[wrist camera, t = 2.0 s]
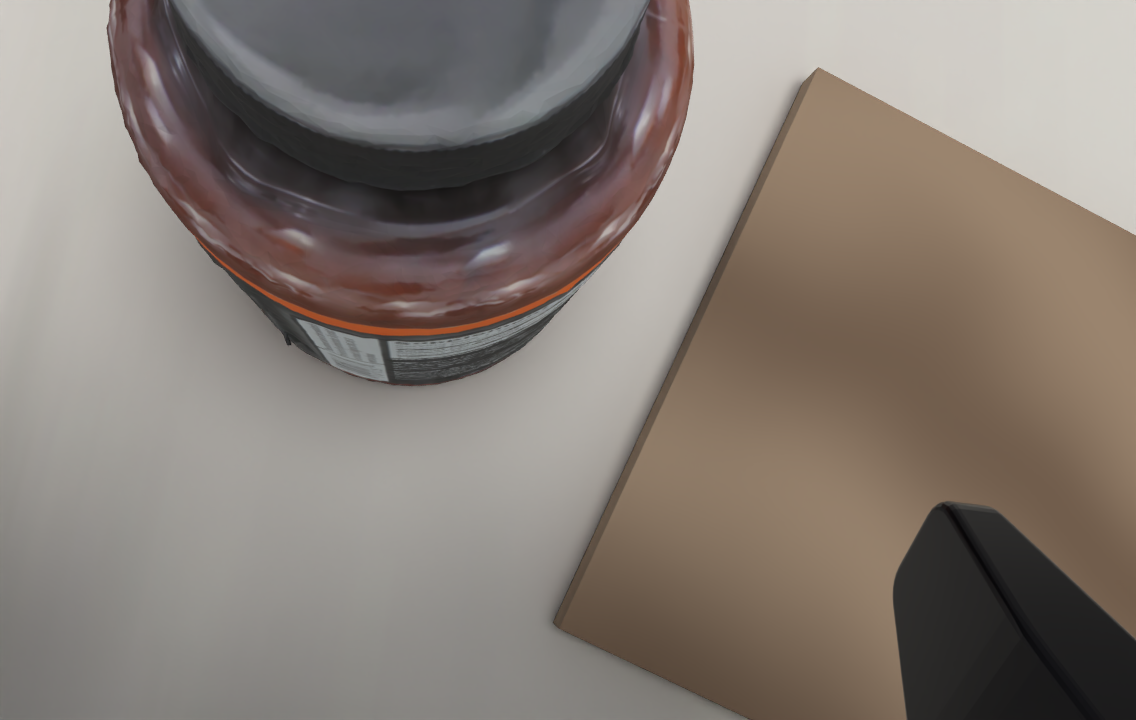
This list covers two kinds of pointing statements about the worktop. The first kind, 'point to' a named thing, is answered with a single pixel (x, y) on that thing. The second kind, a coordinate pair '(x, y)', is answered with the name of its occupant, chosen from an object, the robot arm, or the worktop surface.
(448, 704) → the worktop surface
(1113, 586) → the walnut coaster board
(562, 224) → the supplement bottle
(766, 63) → the worktop surface
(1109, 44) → the worktop surface
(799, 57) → the worktop surface
